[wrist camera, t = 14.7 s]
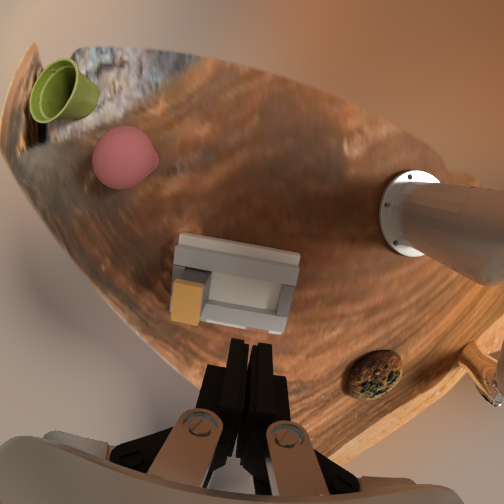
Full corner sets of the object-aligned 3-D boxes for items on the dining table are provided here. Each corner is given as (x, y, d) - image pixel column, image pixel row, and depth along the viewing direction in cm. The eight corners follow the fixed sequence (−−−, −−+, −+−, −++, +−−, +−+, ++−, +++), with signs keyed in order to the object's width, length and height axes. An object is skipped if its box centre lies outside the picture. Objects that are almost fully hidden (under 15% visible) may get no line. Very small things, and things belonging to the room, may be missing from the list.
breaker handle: (212, 267, 37) (201, 288, 30) (208, 300, 38) (197, 325, 31) (189, 263, 37) (173, 282, 30) (185, 295, 38) (170, 320, 31)
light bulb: (183, 146, 34) (149, 132, 23) (162, 194, 36) (122, 202, 25) (140, 129, 34) (95, 113, 22) (121, 176, 36) (71, 177, 24)
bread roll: (367, 341, 41) (379, 360, 36) (408, 350, 43) (421, 367, 38) (332, 388, 44) (341, 408, 39) (375, 393, 46) (385, 410, 42)
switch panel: (299, 252, 38) (302, 259, 35) (280, 329, 41) (281, 340, 38) (182, 231, 37) (176, 236, 34) (174, 310, 40) (169, 319, 38)
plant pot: (119, 96, 33) (87, 81, 24) (77, 141, 34) (42, 136, 26) (93, 63, 31) (63, 46, 23) (56, 105, 33) (22, 97, 24)
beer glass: (452, 371, 43) (486, 414, 28) (459, 344, 41) (500, 386, 27) (474, 361, 42) (509, 400, 28) (482, 335, 41) (522, 372, 26)
